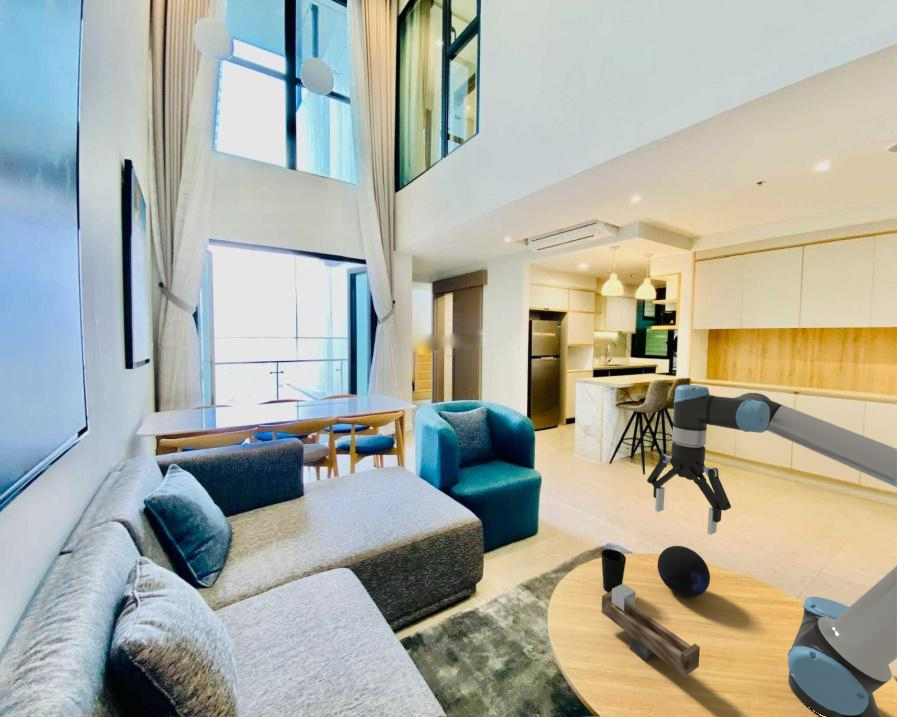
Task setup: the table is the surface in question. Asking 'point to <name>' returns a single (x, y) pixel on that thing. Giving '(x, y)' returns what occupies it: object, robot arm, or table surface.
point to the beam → (652, 638)
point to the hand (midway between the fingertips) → (684, 521)
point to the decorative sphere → (683, 571)
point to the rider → (623, 597)
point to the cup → (612, 568)
